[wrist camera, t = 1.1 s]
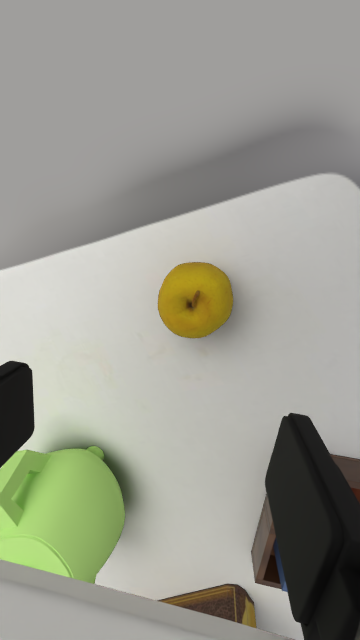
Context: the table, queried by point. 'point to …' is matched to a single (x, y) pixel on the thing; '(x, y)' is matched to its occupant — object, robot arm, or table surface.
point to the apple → (195, 299)
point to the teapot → (60, 511)
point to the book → (219, 603)
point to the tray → (262, 550)
